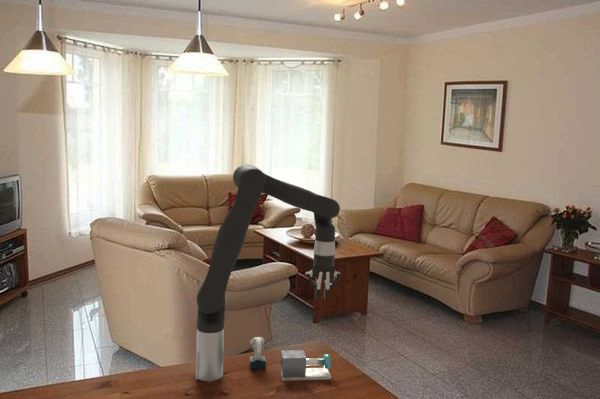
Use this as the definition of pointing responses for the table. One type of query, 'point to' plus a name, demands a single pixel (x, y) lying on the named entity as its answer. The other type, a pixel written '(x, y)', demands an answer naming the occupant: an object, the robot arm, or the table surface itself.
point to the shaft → (320, 361)
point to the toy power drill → (257, 354)
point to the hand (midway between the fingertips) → (322, 298)
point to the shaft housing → (299, 367)
